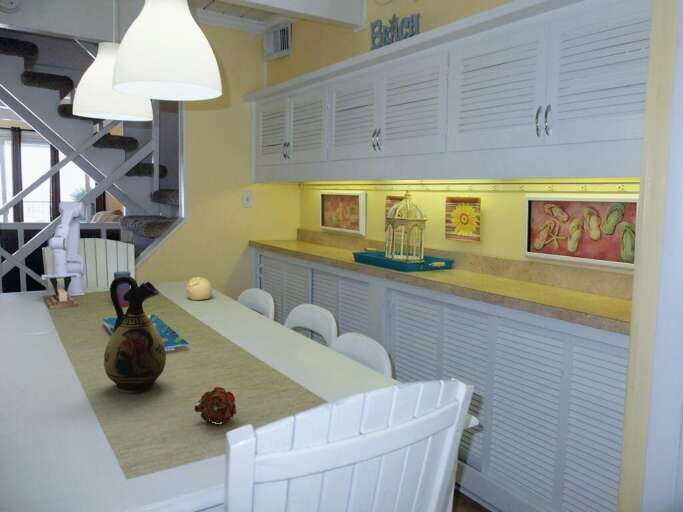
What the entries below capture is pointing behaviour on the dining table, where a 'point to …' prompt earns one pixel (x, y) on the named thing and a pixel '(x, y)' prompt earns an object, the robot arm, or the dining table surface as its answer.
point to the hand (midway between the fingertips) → (61, 294)
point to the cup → (122, 288)
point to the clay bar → (61, 295)
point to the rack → (61, 302)
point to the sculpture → (199, 288)
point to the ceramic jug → (134, 341)
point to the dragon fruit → (217, 405)
